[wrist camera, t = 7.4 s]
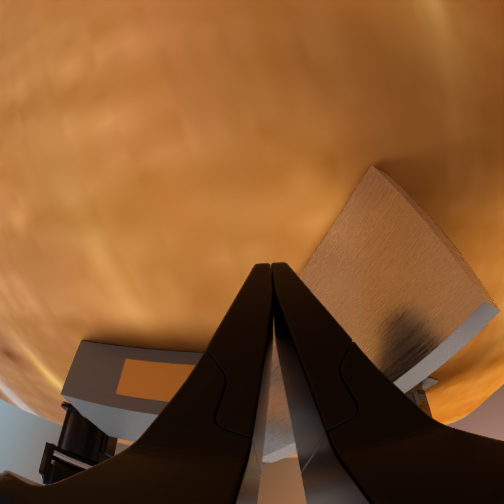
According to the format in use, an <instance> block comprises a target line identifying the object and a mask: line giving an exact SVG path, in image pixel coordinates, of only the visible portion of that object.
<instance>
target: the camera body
mask: <svg viewBox="0 0 504 504" xmlns="http://www.w3.org/2000/svg"><path fill="white" fill-rule="evenodd" d="M202 354H203V353H198V352H180V351H166V350H154V349H143V348H133V347H124V346H116V345H108V344H101V343H94V342H87V341H81V343H80V345H79V347H78V350H77V352H76V355H75V357H74V360H73V362H72V365H71V367H70V370H69V373H68V375H67V378H66V381H65V383H64V386H63V389H62V392H61V395H62V396H63V397H64V398H65V399H66V400H67V401H68V402H69V403H71V404H72V405H73V406H74V407H75V408H76V409H77V410H78V411H79V412H80V414H81V415H82V416H83V417H85V418H87V419H89V420H90V421H91V422H92V423H93V424H95V425H96V426H97V427H98V428H99V429H101V430H102V431H103V432H104V433H106V434H107V435H108V436H111V437H115V438H120V439H124V440H129V441H134V442H135V441H137V440H138V439H139V438H140V436H141V435H142V434H143V433H144V432H145V431H146V429H147V428H148V427H149V426H150V425H151V423H152V422H153V421H154V420H155V419H156V417H157V416H158V415H159V414H160V412H161V411H162V410H163V409H164V407H165V406H166V405H167V404H168V403H169V401H170V400H171V399H172V398H173V396H174V395H175V394H176V392H177V391H178V390H179V388H180V387H181V386H182V384H183V383H184V382H185V380H186V379H187V378H188V376H189V374H190V373H191V371H192V370H193V368H194V367H195V365H196V364H197V362H198V360H199V359H200V357H201V355H202ZM265 465H266V462H262V466H265Z"/></svg>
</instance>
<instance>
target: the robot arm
mask: <svg viewBox="0 0 504 504" xmlns="http://www.w3.org/2000/svg"><path fill="white" fill-rule="evenodd" d="M273 321H274V329H273ZM274 335H275V342H276V348H277V353H278V358H279V363H280V368H281V373H282V378H283V383H284V388H285V393H286V398H287V403H288V409H289V414H290V419H291V424H292V429H293V434H294V439H295V444H296V450H297V455H298V459H299V465H300V470H301V473H302V474H301V476H302V481H303V486H304V491H305V496H306V501H307V504H504V441H501V440H496V439H493V438H488V437H485V436H481V435H477V434H473V433H469V432H466V431H462V430H459V429H455V428H451V427H449V426H446V425H444V424H442V423H440V422H438V421H436V420H434V419H433V418H432V417H430V416H429V415H428V414H426V413H425V412H424V411H423V410H422V409H421V408H420V407H419V406H417V405H416V404H415V403H414V402H413V401H412V400H411V399H410V398H409V397H408V396H407V395H406V394H405V393H404V392H402V391H401V390H400V389H399V388H398V387H397V386H396V385H395V384H394V383H393V382H392V381H391V380H390V379H389V378H388V377H387V376H386V375H384V374H383V373H382V372H381V371H380V370H379V369H378V368H377V367H376V366H375V365H374V363H373V362H372V361H371V360H370V359H369V358H368V357H367V356H366V354H365V353H364V352H363V351H362V350H361V349H360V348H359V346H358V345H357V344H356V343H355V342H352V341H353V340H352V338H351V337H350V336H349V335H348V334H347V332H346V331H345V330H344V329H343V328H342V326H341V325H340V324H339V323H338V322H337V321H336V319H335V318H334V317H333V316H332V315H331V314H330V312H329V311H328V310H327V309H326V308H325V307H324V306H323V304H322V303H321V302H320V301H319V300H318V299H317V297H316V296H315V295H314V294H313V293H312V292H311V290H310V289H309V288H308V287H307V286H306V285H305V284H304V282H303V281H302V280H301V279H300V278H299V277H298V276H297V274H296V273H295V272H294V271H293V270H292V269H291V268H290V266H289V265H288V264H287V263H285V262H280V263H272V264H271V267H270V264H269V263H261V264H255V265H254V267H253V268H252V270H251V272H250V274H249V275H248V277H247V279H246V281H245V282H244V284H243V286H242V287H241V289H240V291H239V293H238V294H237V296H236V298H235V299H234V301H233V303H232V305H231V306H230V308H229V310H228V311H227V313H226V315H225V316H224V318H223V320H222V322H221V323H220V325H219V327H218V328H217V330H216V332H215V333H214V335H213V337H212V339H211V340H210V342H209V344H208V345H207V347H206V349H205V350H206V351H204V352H203V354H202V355H201V357H200V359H199V360H198V362H197V364H196V365H195V367H194V368H193V370H192V371H191V373H190V374H189V376H188V378H187V379H186V380H185V382H184V383H183V384H182V386H181V387H180V388H179V390H178V391H177V392H176V394H175V395H174V396H173V398H172V399H171V400H170V401H169V403H168V404H167V405H166V406H165V407H164V409H163V410H162V411H161V412H160V414H159V415H158V416H157V417H156V419H155V420H154V421H153V422H152V423H151V425H150V426H149V427H148V428H147V429H146V431H145V432H144V433H143V434H142V435H141V436H140V438H139V439H138V440H137V441H135V442H134V443H133V444H132V445H131V446H130V447H128V448H127V449H125V450H124V451H122V452H121V453H119V454H117V455H115V456H114V454H115V449H116V444H117V439H118V438H115V437H111V436H108V435H107V434H106V433H104V432H103V431H102V430H101V429H99V428H98V427H97V426H96V425H95V424H93V423H92V422H91V421H90V420H89V419H87V418H85V417H83V416H82V415H81V414H80V412H79V411H78V410H77V409H76V408H75V407H73V406H70V405H67V404H63V403H62V404H61V407H62V408H63V409H64V410H66V411H67V413H66V416H65V419H64V423H63V426H62V430H61V434H60V437H59V441H58V445H57V446H56V445H54V444H50V443H48V442H46V446H45V449H44V454H43V457H42V461H41V465H40V469H39V475H40V476H41V478H42V481H43V484H42V485H41V484H38V483H36V482H34V481H31V480H29V479H27V478H25V477H22V476H20V475H18V474H15V473H13V472H11V471H4V472H2V473H0V504H257V501H258V493H259V485H260V475H261V468H262V459H263V450H264V441H265V431H266V421H267V411H268V401H269V390H270V379H271V367H272V355H273V339H274ZM54 453H57V454H59V455H61V456H63V457H65V458H68V459H70V460H72V461H75V462H77V463H80V464H82V465H85V466H87V467H90V468H88V469H84V468H82V467H79V466H77V465H74V464H72V463H69V462H67V461H65V460H63V459H61V458H58V457H56V456H54V455H53V454H54ZM51 462H53V464H52V463H51Z"/></svg>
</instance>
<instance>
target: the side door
mask: <svg viewBox="0 0 504 504" xmlns="http://www.w3.org/2000/svg"><path fill="white" fill-rule="evenodd" d="M298 277H299V278H300V279H301V280H302V281H303V282H304V284H305V285H306V286H307V287H308V288H309V289H310V290H311V292H312V293H313V294H314V295H315V296H316V297H317V299H318V300H319V301H320V302H321V303H322V304H323V306H324V307H325V308H326V309H327V310H328V311H329V312H330V314H331V315H332V316H333V317H334V318H335V319H336V321H337V322H338V323H339V324H340V325H341V326H342V328H343V329H344V330H345V331H346V332H347V334H348V335H349V336H350V337H351V338H352V340H353V341H352V342H355V343H356V344H357V345H358V346H359V348H360V349H361V350H362V351H363V352H364V353H365V354H366V356H367V357H368V358H369V359H370V360H371V361H372V362H373V363H374V365H375V366H376V367H377V368H378V369H379V370H380V371H381V372H382V373H383V374H384V375H386V376H387V377H388V378H389V379H390V380H391V381H392V382H393V383H394V384H395V385H396V386H397V387H398V388H399V389H400V390H401V391H402V392H404V393H406V392H407V391H409V390H410V389H411V388H413V387H414V386H416V385H417V384H418V383H420V382H421V381H422V380H424V379H425V378H426V377H428V376H429V375H430V374H432V373H433V372H434V371H435V370H437V369H438V368H439V367H440V366H442V365H443V364H444V363H445V362H447V361H448V360H449V359H450V358H451V357H452V356H454V355H455V354H456V353H457V352H458V351H459V350H461V349H462V348H463V347H464V346H465V345H466V344H467V343H468V342H469V341H470V340H471V339H473V338H474V337H475V336H476V335H477V334H478V333H479V332H480V331H481V330H482V329H483V328H484V327H485V326H486V325H487V324H488V323H489V322H490V321H491V320H492V319H493V318H494V317H495V316H496V315H497V313H498V312H499V311H500V309H499V308H498V306H497V305H496V303H495V302H494V300H493V298H492V297H491V295H490V294H489V292H488V291H487V289H486V288H485V287H484V285H483V284H482V282H481V281H480V279H479V278H478V277H477V275H476V274H475V272H474V271H473V270H472V268H471V267H470V266H469V264H468V263H467V262H466V260H465V259H464V258H463V256H462V255H461V253H460V252H459V250H458V249H457V248H456V247H455V245H454V244H453V243H452V242H451V241H450V239H449V238H448V237H447V236H446V235H445V233H444V232H443V231H442V230H441V229H440V228H439V226H438V225H437V224H436V223H435V222H434V221H433V220H432V218H431V217H429V216H428V215H427V214H426V213H425V211H424V210H423V209H422V208H421V207H420V206H419V205H418V204H417V203H416V202H415V201H414V200H413V199H412V198H411V197H410V195H409V194H408V193H407V192H406V191H405V190H404V189H403V188H402V187H401V186H400V185H399V184H398V183H397V182H396V181H395V180H394V179H393V178H391V177H390V176H389V175H387V174H386V173H384V172H382V171H381V170H379V169H378V168H376V167H374V166H373V165H371V166H370V167H369V169H368V171H367V172H366V174H365V175H364V177H363V179H362V180H361V182H360V184H359V185H358V187H357V188H356V190H355V192H354V193H353V195H352V196H351V198H350V199H349V201H348V203H347V204H346V206H345V207H344V209H343V210H342V212H341V213H340V215H339V216H338V218H337V220H336V221H335V223H334V224H333V226H332V227H331V229H330V230H329V232H328V233H327V235H326V236H325V238H324V239H323V241H322V242H321V244H320V245H319V247H318V248H317V250H316V251H315V253H314V254H313V256H312V257H311V258H310V260H309V261H308V263H307V264H306V266H305V267H304V269H303V270H302V272H301V273H300V274H299V276H298ZM273 329H274V321H273ZM295 453H297V450H296V444H295V439H294V434H293V429H292V424H291V419H290V414H289V409H288V403H287V398H286V393H285V388H284V383H283V378H282V373H281V368H280V363H279V358H278V353H277V348H276V342H275V335H274V339H273V355H272V367H271V379H270V390H269V401H268V411H267V421H266V431H265V441H264V450H263V459H262V462H275V461H278V460H280V459H283V458H285V457H288V456H290V455H293V454H295Z"/></svg>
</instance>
